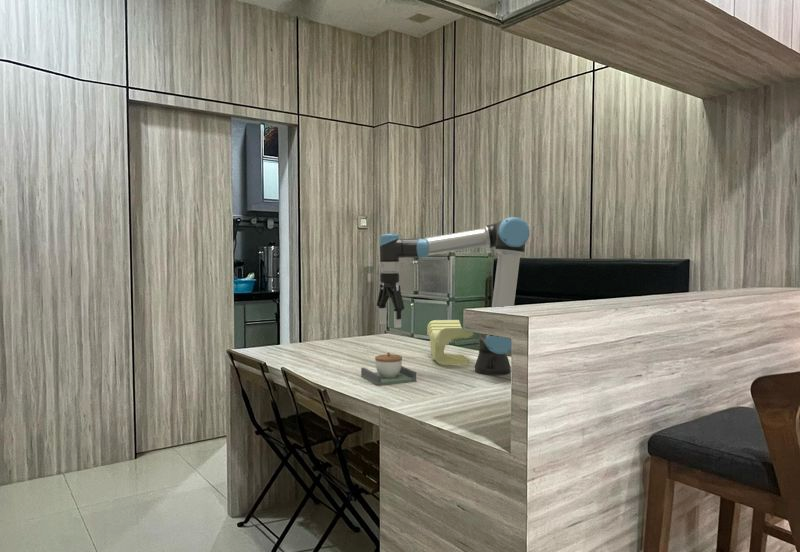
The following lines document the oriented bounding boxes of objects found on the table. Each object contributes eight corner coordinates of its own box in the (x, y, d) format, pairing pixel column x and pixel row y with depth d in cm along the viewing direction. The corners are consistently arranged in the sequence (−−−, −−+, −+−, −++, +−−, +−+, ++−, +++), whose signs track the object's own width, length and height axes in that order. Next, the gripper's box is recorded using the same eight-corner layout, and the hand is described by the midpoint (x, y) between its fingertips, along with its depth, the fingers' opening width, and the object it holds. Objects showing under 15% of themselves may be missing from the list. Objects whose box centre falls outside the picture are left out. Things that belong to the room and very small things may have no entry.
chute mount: (397, 373, 224) (397, 364, 224) (416, 381, 209) (416, 372, 209) (361, 376, 217) (361, 367, 217) (378, 385, 201) (378, 376, 201)
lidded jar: (371, 378, 209) (371, 354, 208) (379, 372, 219) (379, 349, 219) (398, 379, 206) (398, 355, 206) (404, 374, 217) (404, 351, 216)
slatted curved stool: (427, 356, 263) (427, 320, 262) (458, 355, 265) (459, 319, 264) (438, 368, 233) (438, 328, 233) (474, 367, 235) (474, 327, 235)
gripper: (368, 272, 222) (369, 323, 222) (395, 273, 200) (395, 330, 200) (384, 272, 225) (385, 322, 226) (412, 273, 203) (413, 328, 204)
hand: (390, 325), depth 213 cm, fingers open, 13 cm apart
